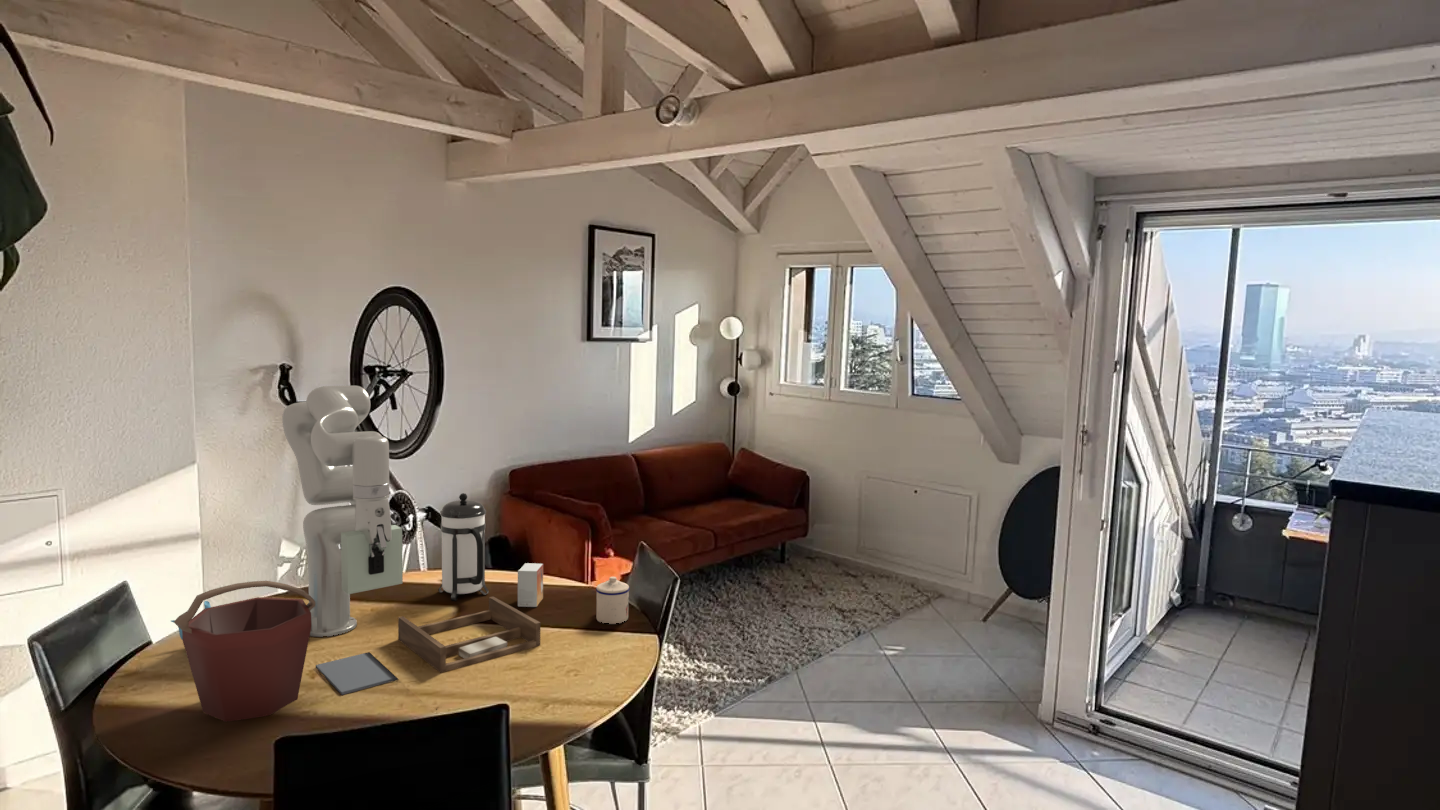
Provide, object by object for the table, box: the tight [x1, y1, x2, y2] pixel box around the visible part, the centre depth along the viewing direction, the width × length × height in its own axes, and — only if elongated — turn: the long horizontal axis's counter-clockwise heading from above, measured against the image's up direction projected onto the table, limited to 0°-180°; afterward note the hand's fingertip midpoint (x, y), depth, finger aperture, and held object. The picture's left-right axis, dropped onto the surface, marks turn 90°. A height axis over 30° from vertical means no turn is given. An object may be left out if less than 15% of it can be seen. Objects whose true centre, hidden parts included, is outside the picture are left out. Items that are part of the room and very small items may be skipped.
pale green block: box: [340, 524, 404, 595], centre depth 181 cm, size 12×4×13 cm, turn 134°
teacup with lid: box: [595, 576, 631, 625], centre depth 220 cm, size 12×9×12 cm
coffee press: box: [437, 493, 490, 602], centre depth 235 cm, size 17×16×30 cm
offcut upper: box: [458, 637, 508, 659], centre depth 191 cm, size 10×5×2 cm, turn 138°
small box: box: [517, 562, 544, 608], centre depth 230 cm, size 8×6×10 cm
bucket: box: [173, 580, 316, 723], centre depth 166 cm, size 24×22×25 cm
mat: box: [315, 651, 400, 696], centre depth 183 cm, size 18×18×1 cm
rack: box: [397, 596, 541, 673], centre depth 197 cm, size 25×25×7 cm
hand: (372, 570), depth 181 cm, fingers closed on pale green block, 4 cm apart
